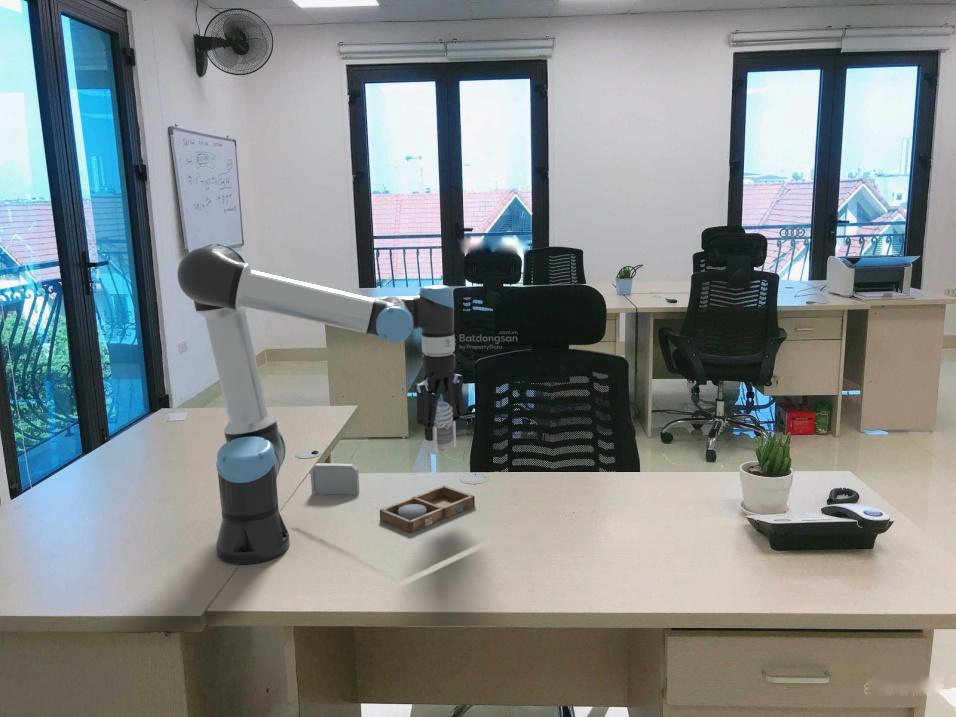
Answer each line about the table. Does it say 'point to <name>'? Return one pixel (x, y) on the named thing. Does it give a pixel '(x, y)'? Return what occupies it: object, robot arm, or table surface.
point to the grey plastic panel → (334, 479)
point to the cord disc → (412, 511)
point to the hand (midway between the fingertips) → (441, 449)
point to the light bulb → (443, 431)
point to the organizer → (429, 508)
